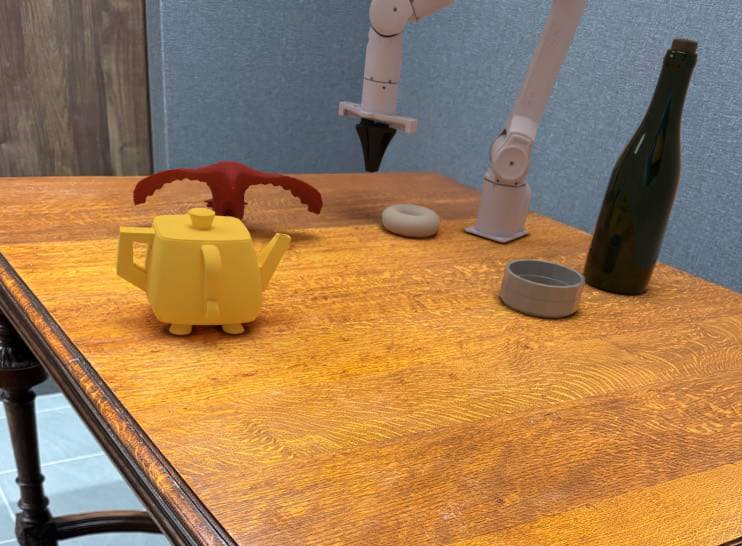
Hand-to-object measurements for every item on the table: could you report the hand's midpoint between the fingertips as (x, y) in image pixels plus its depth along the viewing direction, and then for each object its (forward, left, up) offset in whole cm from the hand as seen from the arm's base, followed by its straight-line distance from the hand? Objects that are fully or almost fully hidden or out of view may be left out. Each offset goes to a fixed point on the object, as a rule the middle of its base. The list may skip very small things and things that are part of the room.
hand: (371, 171), depth 137 cm
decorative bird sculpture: (+26, -8, -8) cm, 28 cm away
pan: (+13, +40, -8) cm, 43 cm away
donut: (0, +9, -8) cm, 12 cm away
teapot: (+53, +14, -8) cm, 55 cm away
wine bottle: (-6, +44, -8) cm, 45 cm away
